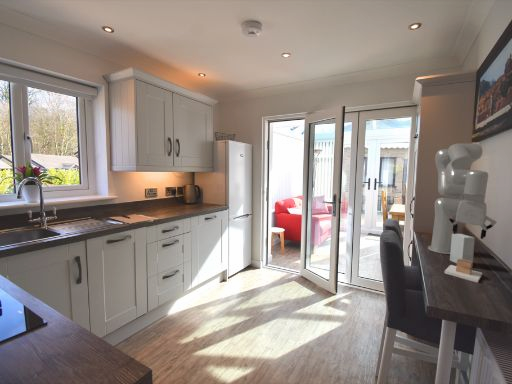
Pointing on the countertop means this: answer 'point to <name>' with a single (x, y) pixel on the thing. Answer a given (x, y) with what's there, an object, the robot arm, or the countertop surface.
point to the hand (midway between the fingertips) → (468, 235)
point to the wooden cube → (464, 266)
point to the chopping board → (463, 274)
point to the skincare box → (462, 247)
